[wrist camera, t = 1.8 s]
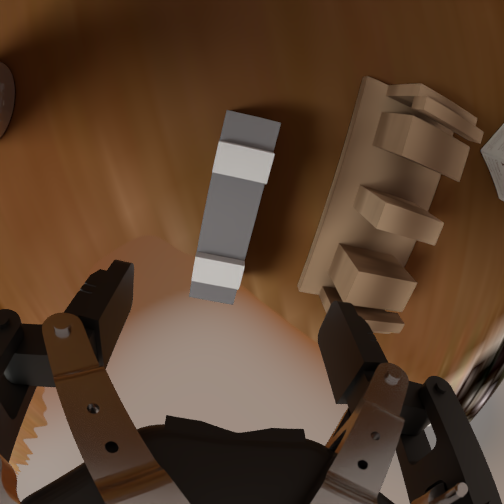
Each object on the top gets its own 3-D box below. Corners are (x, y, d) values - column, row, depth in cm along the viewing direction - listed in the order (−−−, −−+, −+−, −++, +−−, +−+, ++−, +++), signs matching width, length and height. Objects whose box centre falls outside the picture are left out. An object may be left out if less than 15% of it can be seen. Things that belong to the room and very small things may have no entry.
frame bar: (195, 265, 28) (187, 302, 23) (228, 110, 22) (226, 110, 17) (233, 272, 28) (233, 310, 23) (272, 120, 23) (283, 123, 17)
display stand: (297, 285, 29) (313, 334, 23) (362, 76, 21) (405, 69, 14) (382, 299, 31) (410, 342, 24) (450, 120, 22) (500, 131, 16)
